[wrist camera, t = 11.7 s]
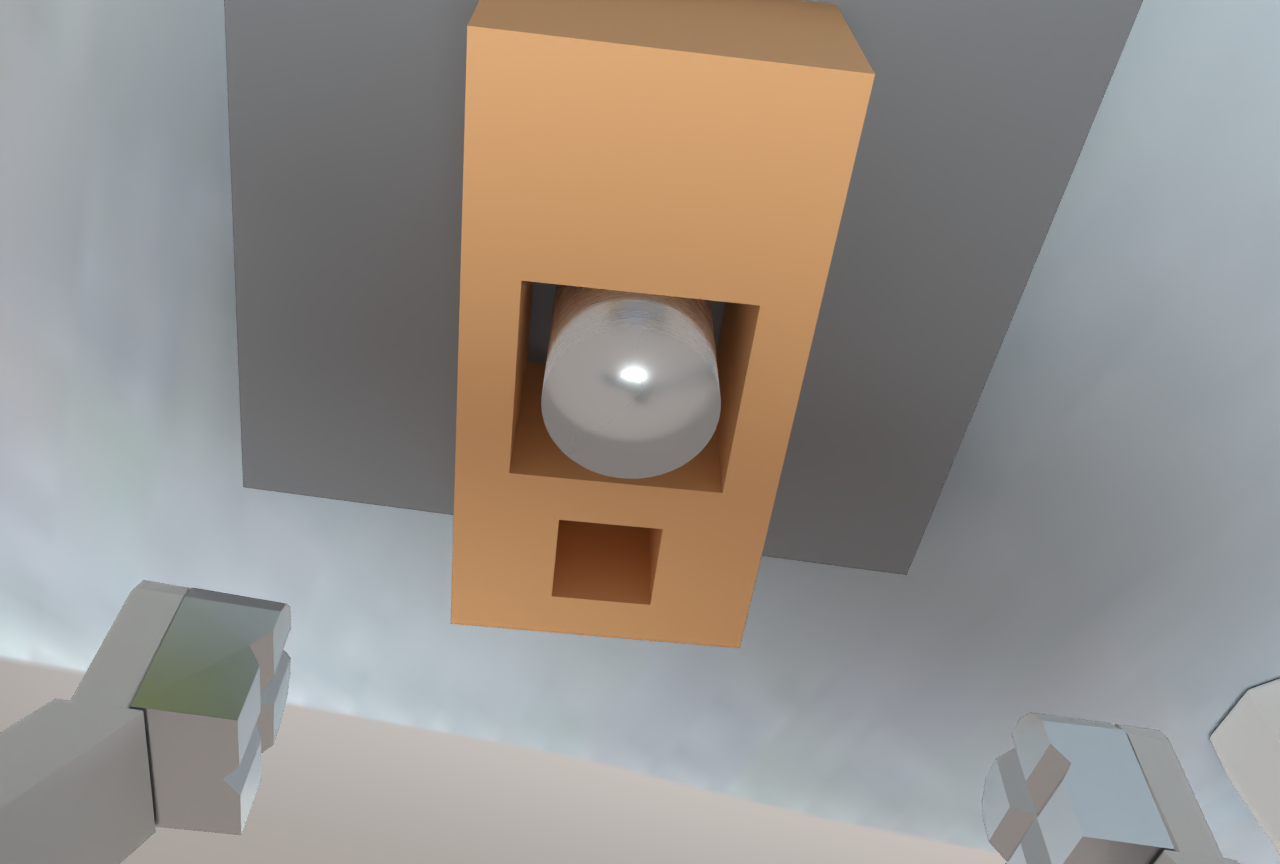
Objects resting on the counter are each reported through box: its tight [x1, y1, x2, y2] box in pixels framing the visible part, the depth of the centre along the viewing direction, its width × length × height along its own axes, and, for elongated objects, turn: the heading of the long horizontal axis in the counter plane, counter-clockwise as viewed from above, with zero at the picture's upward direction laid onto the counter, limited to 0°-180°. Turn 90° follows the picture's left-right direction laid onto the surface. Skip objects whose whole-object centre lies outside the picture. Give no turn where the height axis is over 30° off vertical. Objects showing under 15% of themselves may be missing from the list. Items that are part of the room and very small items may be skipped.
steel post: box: [541, 284, 721, 479], centre depth 21 cm, size 3×3×6 cm
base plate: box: [224, 0, 1143, 575], centre depth 23 cm, size 16×14×2 cm
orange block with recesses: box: [451, 0, 875, 648], centre depth 21 cm, size 12×6×4 cm, turn 173°
